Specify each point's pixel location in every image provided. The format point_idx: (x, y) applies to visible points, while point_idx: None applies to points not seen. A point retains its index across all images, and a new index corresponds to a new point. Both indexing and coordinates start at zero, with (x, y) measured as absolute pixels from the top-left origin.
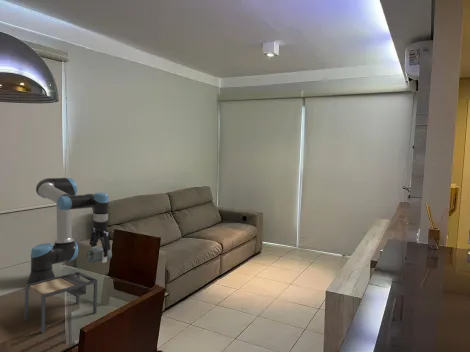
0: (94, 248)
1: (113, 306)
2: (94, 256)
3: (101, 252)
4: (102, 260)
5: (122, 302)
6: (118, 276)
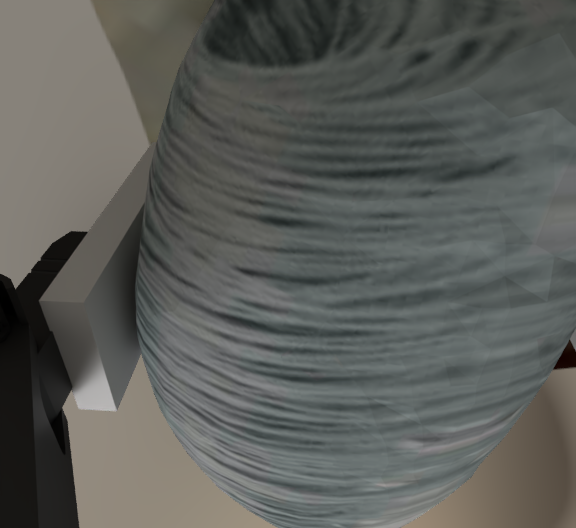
0: (384, 242)
1: (127, 27)
2: (197, 31)
3: (141, 268)
4: (149, 164)
5: (154, 122)
6: (572, 363)
